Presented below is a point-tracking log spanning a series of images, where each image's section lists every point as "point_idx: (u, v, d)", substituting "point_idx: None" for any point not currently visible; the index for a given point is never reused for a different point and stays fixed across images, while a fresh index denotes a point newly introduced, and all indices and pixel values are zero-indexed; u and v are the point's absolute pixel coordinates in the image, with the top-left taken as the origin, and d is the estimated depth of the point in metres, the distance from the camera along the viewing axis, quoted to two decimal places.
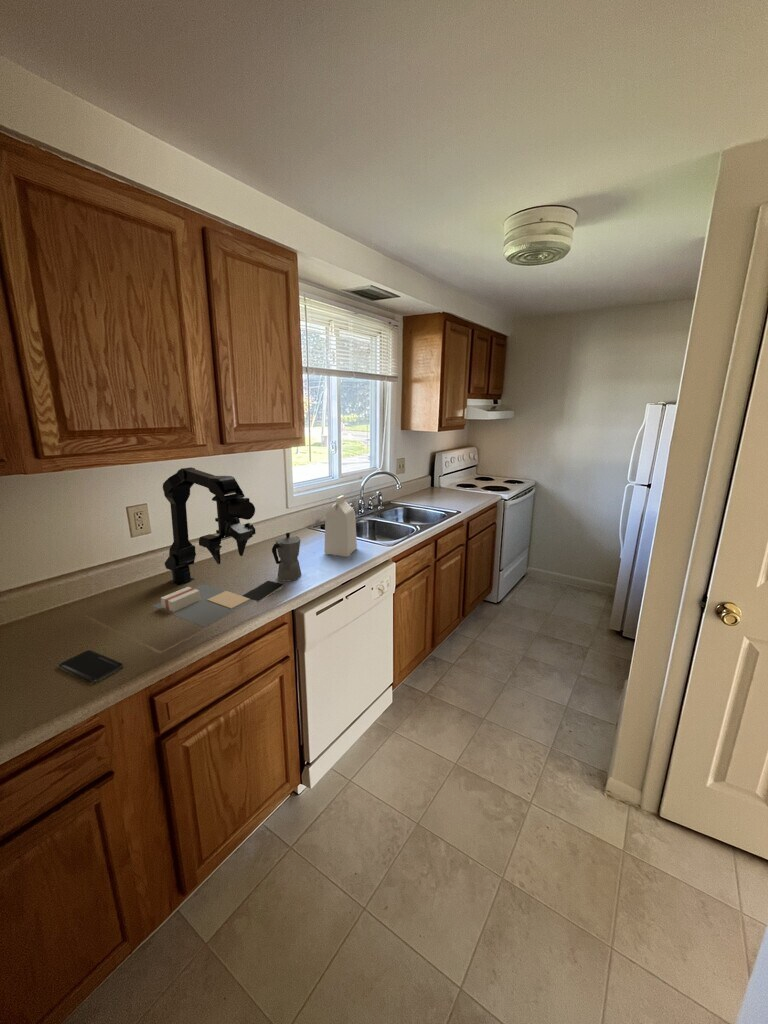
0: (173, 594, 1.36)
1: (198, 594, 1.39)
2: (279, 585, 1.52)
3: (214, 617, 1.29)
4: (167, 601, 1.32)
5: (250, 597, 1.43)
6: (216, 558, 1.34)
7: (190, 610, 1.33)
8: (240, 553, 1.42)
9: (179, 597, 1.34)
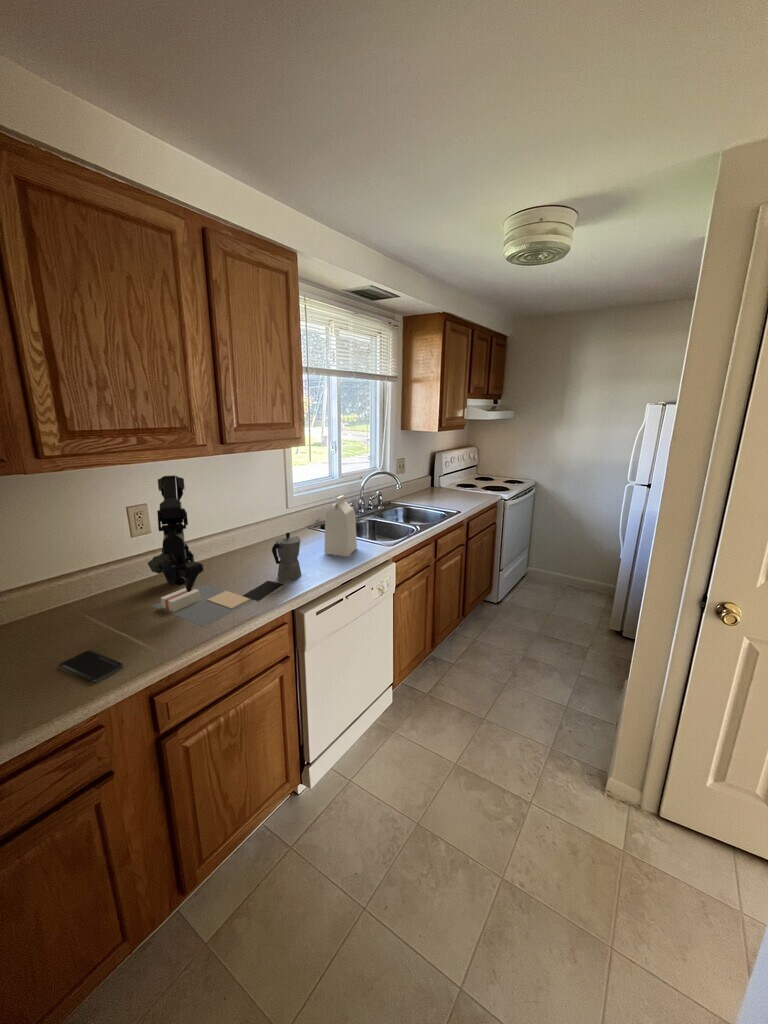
0: (173, 594, 1.36)
1: (198, 594, 1.39)
2: (279, 585, 1.52)
3: (214, 617, 1.29)
4: (167, 601, 1.32)
5: (250, 597, 1.43)
6: None
7: (190, 610, 1.33)
8: None
9: (179, 597, 1.34)
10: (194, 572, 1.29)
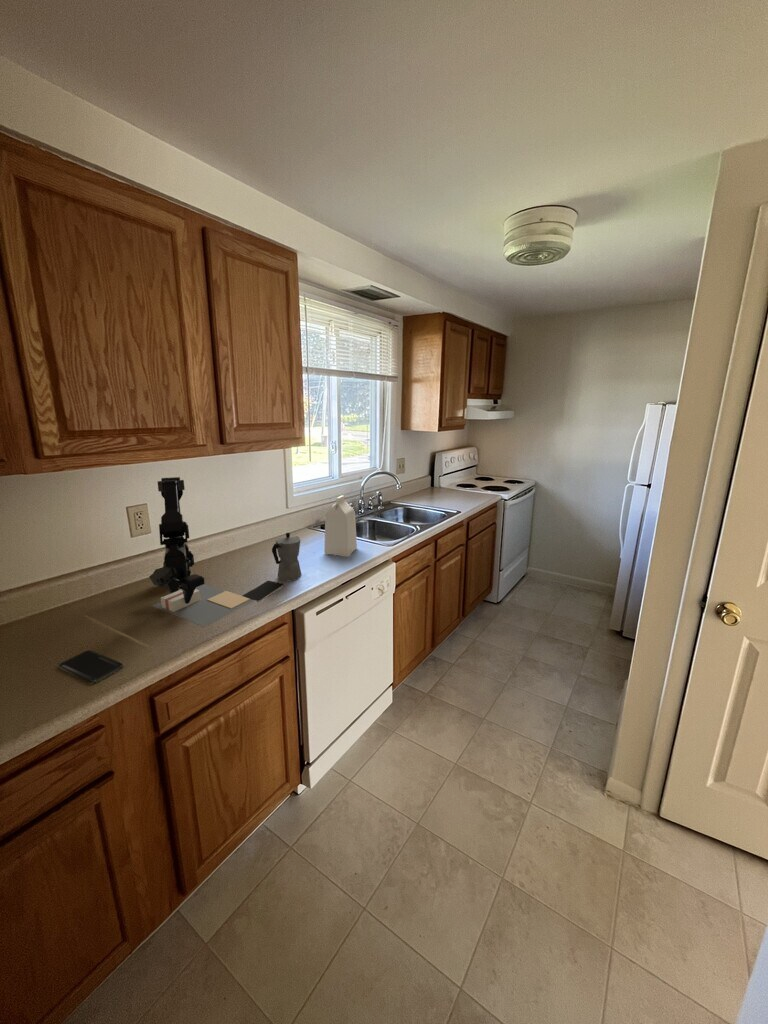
0: (173, 594, 1.36)
1: (198, 594, 1.39)
2: (279, 585, 1.52)
3: (214, 617, 1.29)
4: (167, 601, 1.32)
5: (250, 597, 1.43)
6: None
7: (190, 610, 1.33)
8: None
9: (179, 597, 1.34)
10: (195, 585, 1.30)
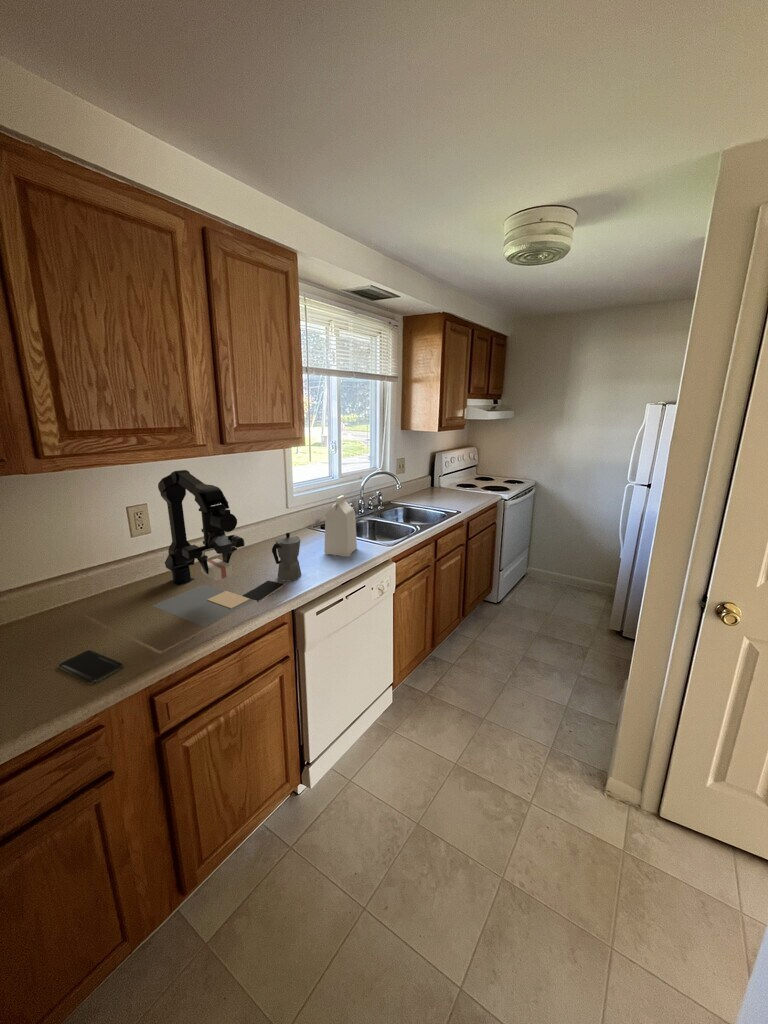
0: (213, 566, 1.34)
1: None
2: (279, 585, 1.52)
3: (214, 617, 1.29)
4: (224, 568, 1.34)
5: (250, 597, 1.43)
6: (204, 568, 1.34)
7: (190, 610, 1.33)
8: None
9: (224, 563, 1.37)
10: None
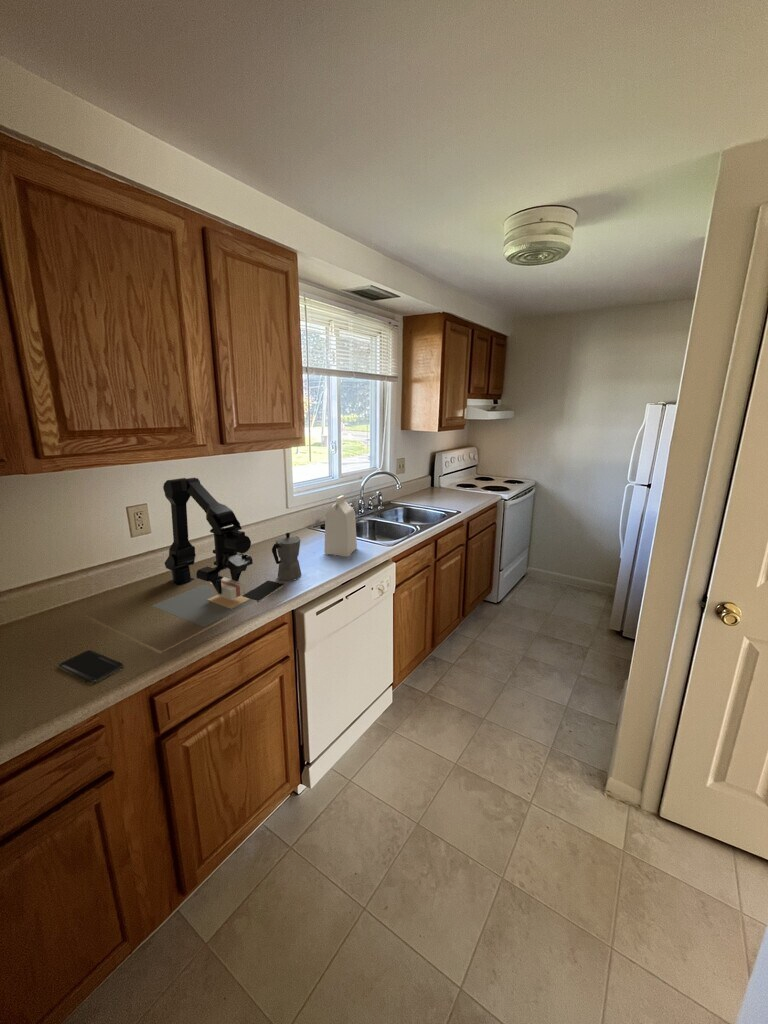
0: (226, 586, 1.37)
1: None
2: (279, 585, 1.53)
3: (214, 617, 1.29)
4: (238, 587, 1.37)
5: (250, 597, 1.43)
6: (217, 588, 1.36)
7: (190, 610, 1.33)
8: None
9: (235, 582, 1.40)
10: None
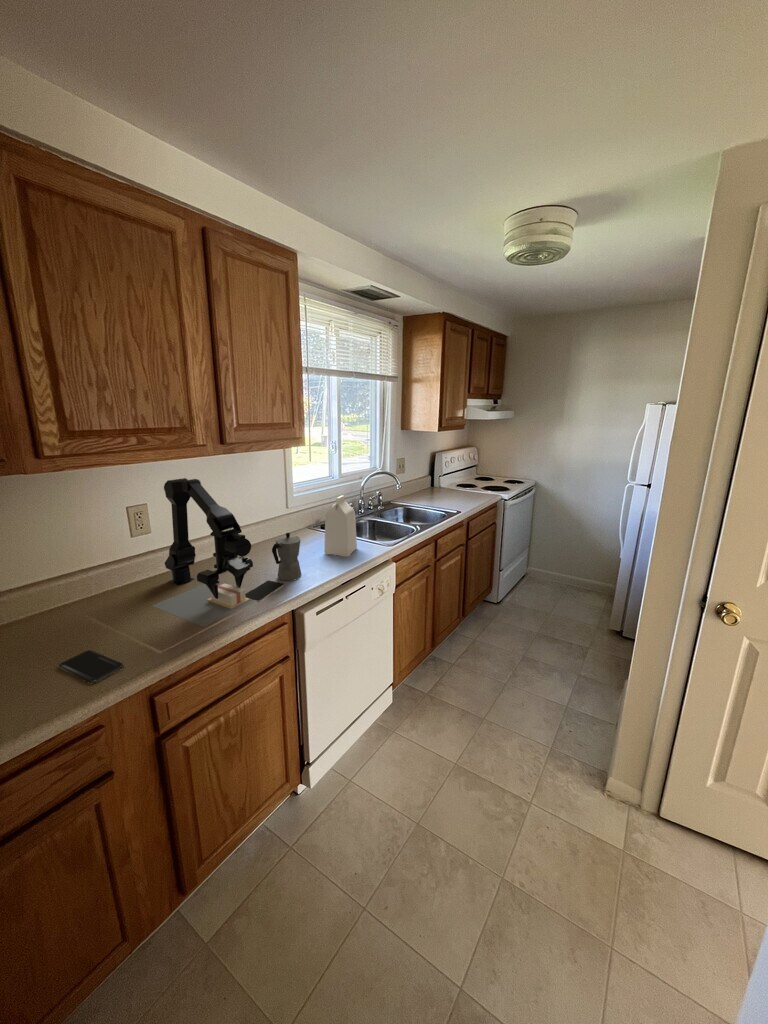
0: (226, 592, 1.38)
1: None
2: (279, 585, 1.53)
3: (214, 617, 1.29)
4: (239, 593, 1.38)
5: (250, 597, 1.43)
6: (214, 593, 1.35)
7: (190, 610, 1.33)
8: (238, 586, 1.44)
9: (236, 588, 1.41)
10: None
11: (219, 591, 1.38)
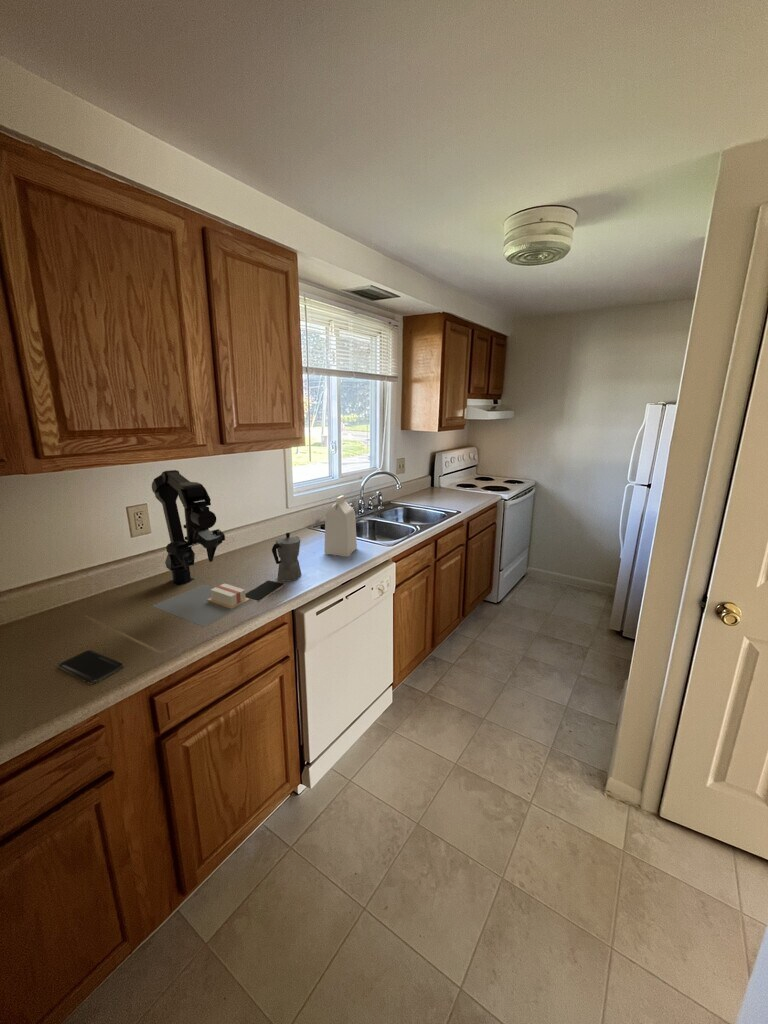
0: (226, 592, 1.38)
1: None
2: (279, 585, 1.53)
3: (214, 617, 1.29)
4: (239, 593, 1.38)
5: (251, 597, 1.43)
6: (184, 564, 1.35)
7: (190, 610, 1.33)
8: (210, 559, 1.44)
9: (236, 588, 1.41)
10: None
11: (219, 591, 1.38)
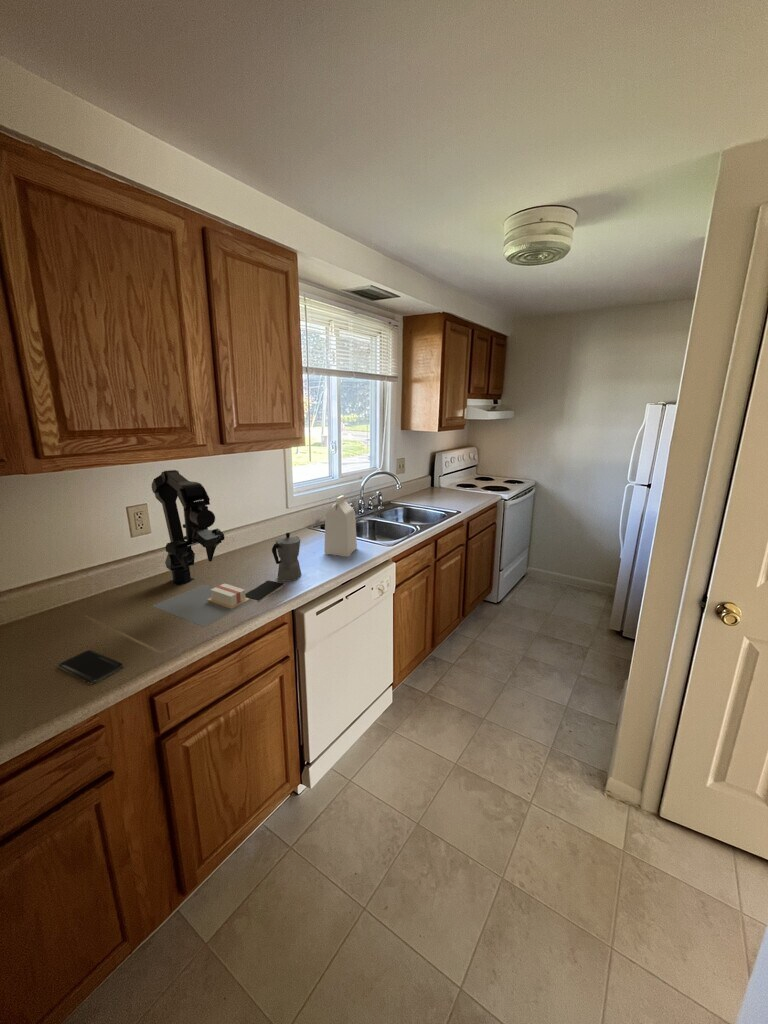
0: (226, 592, 1.38)
1: None
2: (279, 585, 1.53)
3: (214, 617, 1.29)
4: (239, 593, 1.38)
5: (251, 597, 1.43)
6: (183, 564, 1.35)
7: (190, 610, 1.33)
8: (209, 559, 1.44)
9: (236, 588, 1.41)
10: None
11: (219, 591, 1.38)
